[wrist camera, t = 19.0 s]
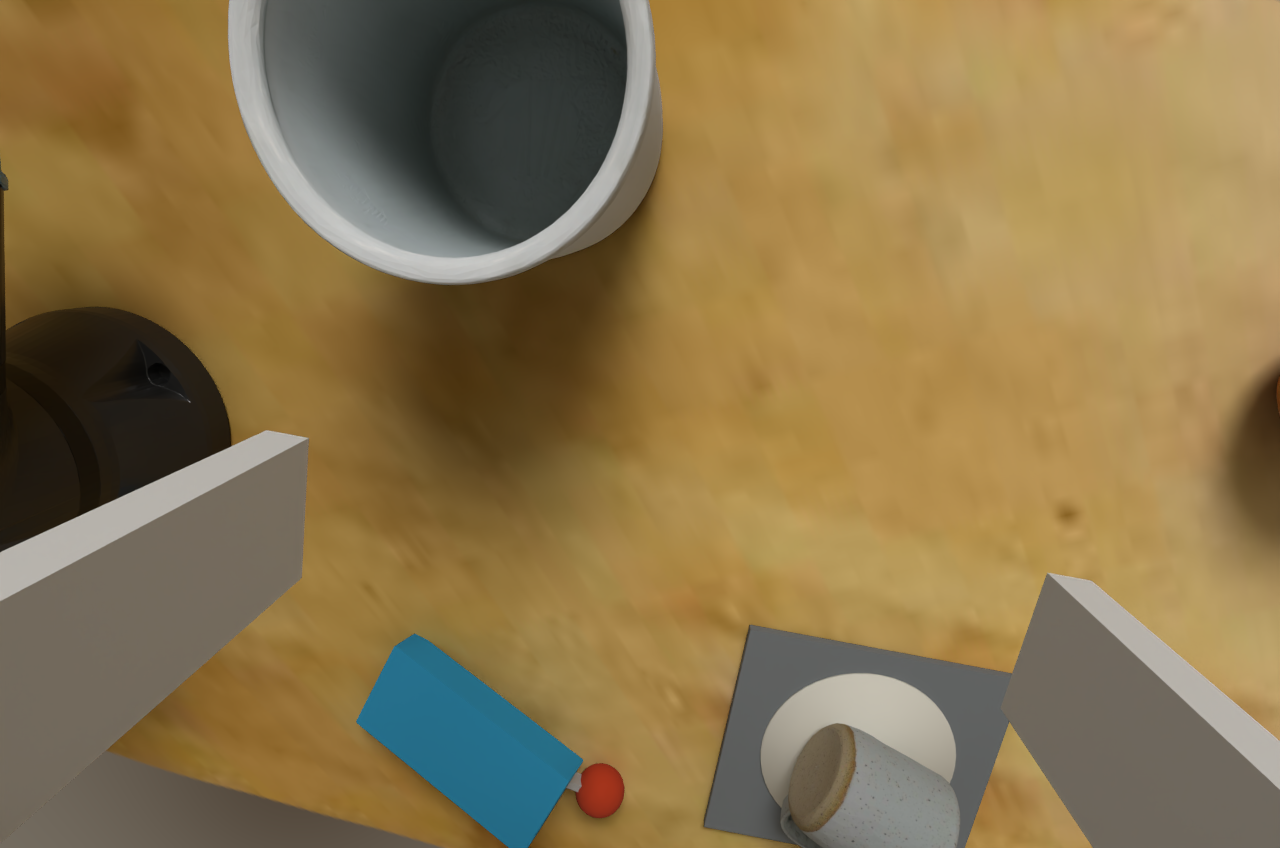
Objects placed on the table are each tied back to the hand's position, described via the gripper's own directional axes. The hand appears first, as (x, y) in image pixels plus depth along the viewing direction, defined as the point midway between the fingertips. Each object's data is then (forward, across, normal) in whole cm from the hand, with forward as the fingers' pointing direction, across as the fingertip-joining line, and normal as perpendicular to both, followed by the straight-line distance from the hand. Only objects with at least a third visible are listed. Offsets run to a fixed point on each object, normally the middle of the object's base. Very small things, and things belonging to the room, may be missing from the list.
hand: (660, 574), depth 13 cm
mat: (+32, +17, -26) cm, 44 cm away
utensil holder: (+32, -10, +10) cm, 35 cm away
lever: (+32, -7, -30) cm, 44 cm away
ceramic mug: (+31, +17, -28) cm, 45 cm away
